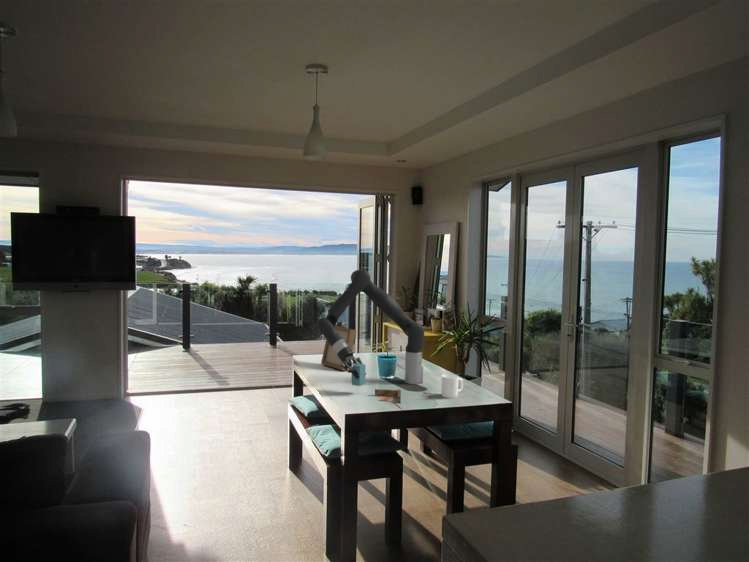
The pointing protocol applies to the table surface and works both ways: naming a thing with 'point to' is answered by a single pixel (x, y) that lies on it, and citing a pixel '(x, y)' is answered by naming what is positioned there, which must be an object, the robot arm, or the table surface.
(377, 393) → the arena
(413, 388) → the table surface
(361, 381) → the teal block
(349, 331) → the photo frame
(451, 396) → the cup
